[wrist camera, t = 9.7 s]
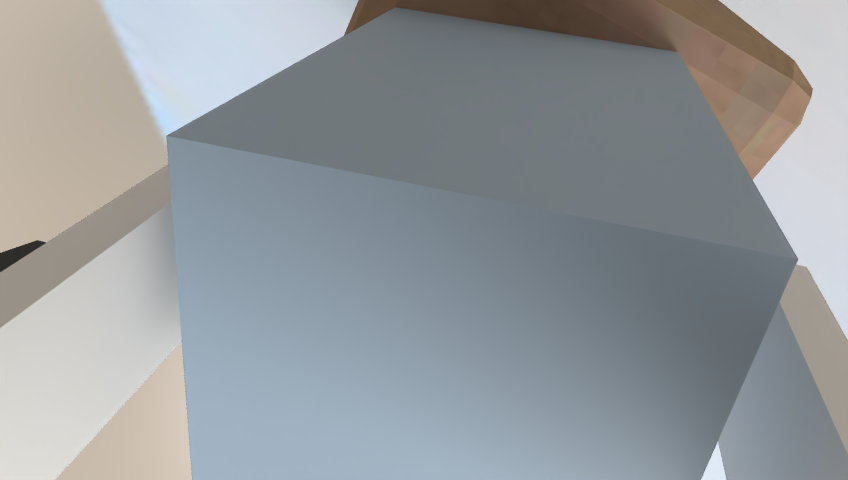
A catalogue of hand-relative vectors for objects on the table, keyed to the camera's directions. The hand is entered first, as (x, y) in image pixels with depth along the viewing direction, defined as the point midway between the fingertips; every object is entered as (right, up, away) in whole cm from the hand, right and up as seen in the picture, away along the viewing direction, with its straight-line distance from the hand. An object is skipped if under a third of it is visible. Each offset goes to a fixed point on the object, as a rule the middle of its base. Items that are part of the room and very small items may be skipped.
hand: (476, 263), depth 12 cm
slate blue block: (+1, +2, +3) cm, 4 cm away
